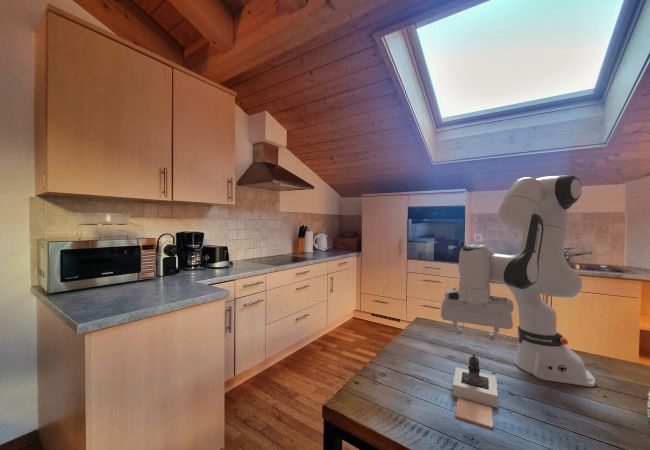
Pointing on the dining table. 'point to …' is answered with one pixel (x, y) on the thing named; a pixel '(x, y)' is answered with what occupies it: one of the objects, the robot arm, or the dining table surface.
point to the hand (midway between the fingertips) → (475, 337)
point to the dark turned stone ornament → (474, 373)
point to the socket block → (476, 388)
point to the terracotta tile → (474, 413)
